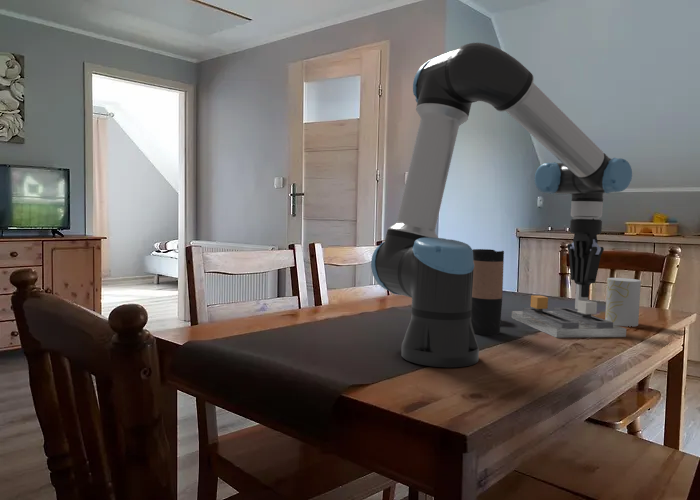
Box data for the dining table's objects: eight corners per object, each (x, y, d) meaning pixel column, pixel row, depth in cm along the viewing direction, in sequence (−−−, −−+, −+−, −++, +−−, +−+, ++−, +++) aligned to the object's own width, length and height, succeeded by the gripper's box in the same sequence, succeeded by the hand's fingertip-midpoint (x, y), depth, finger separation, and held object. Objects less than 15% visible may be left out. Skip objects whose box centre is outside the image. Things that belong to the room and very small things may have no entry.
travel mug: (468, 334, 134) (471, 250, 133) (469, 327, 141) (472, 248, 140) (501, 336, 132) (504, 251, 131) (500, 330, 140) (503, 249, 138)
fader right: (585, 321, 142) (586, 302, 141) (577, 318, 145) (578, 300, 145) (596, 321, 142) (597, 302, 142) (587, 318, 146) (588, 300, 145)
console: (556, 337, 132) (557, 324, 132) (511, 318, 156) (512, 306, 156) (625, 336, 135) (626, 323, 135) (571, 317, 159) (571, 306, 159)
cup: (598, 321, 155) (600, 277, 154) (622, 320, 158) (624, 277, 157) (620, 327, 147) (623, 281, 147) (645, 325, 150) (648, 281, 149)
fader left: (536, 315, 148) (537, 297, 148) (530, 313, 152) (531, 295, 151) (547, 315, 149) (548, 297, 148) (540, 313, 152) (541, 295, 152)
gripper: (615, 219, 139) (609, 313, 140) (585, 218, 151) (580, 304, 153) (587, 218, 137) (582, 313, 139) (559, 217, 150) (554, 304, 152)
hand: (581, 309), depth 146 cm, fingers closed
